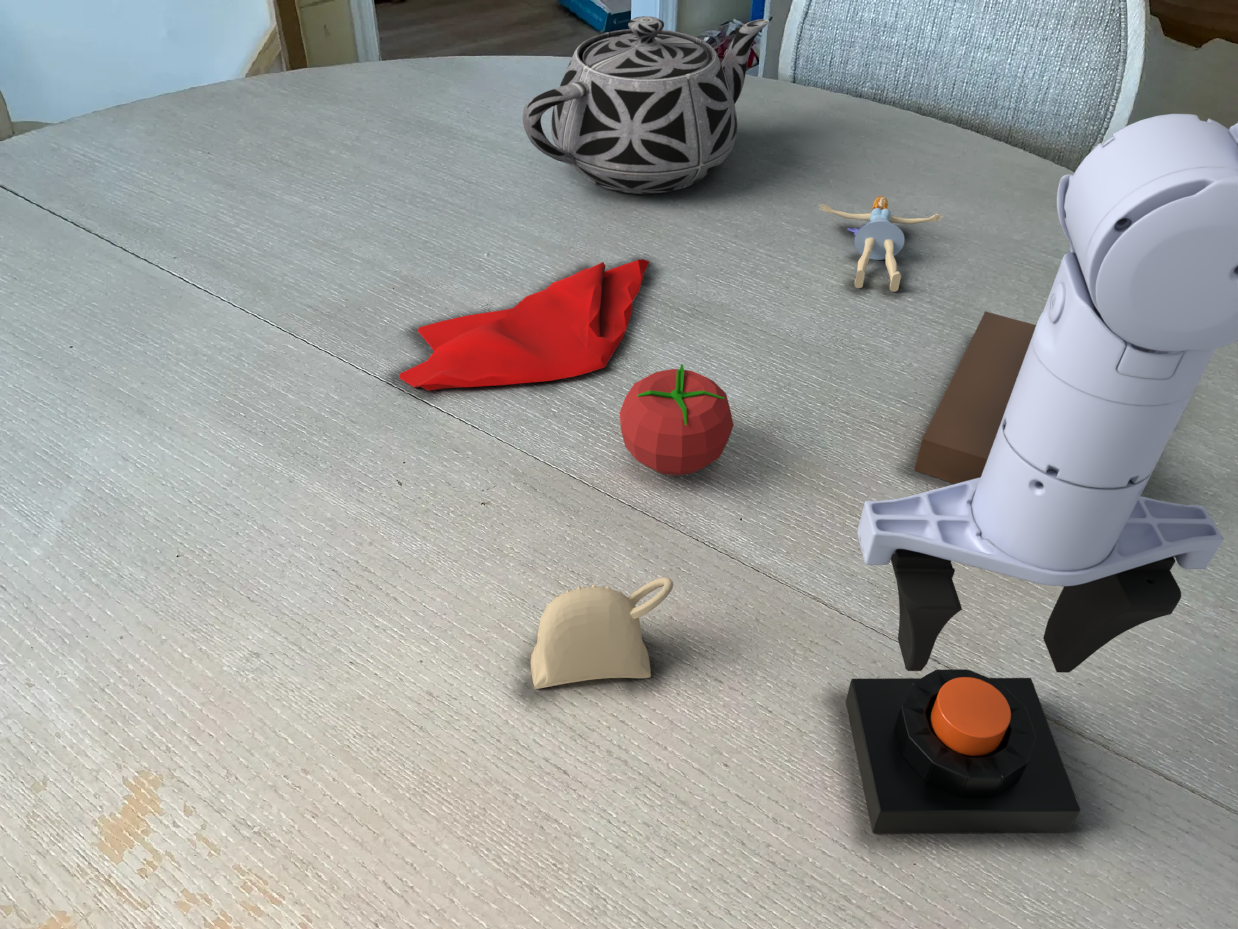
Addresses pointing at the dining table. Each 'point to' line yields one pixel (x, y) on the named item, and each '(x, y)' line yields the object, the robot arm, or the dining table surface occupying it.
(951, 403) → the knob panel
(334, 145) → the dining table surface
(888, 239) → the fairy figurine
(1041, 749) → the button box
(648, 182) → the teapot
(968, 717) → the button
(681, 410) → the tomato
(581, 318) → the cloth
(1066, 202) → the robot arm
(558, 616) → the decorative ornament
